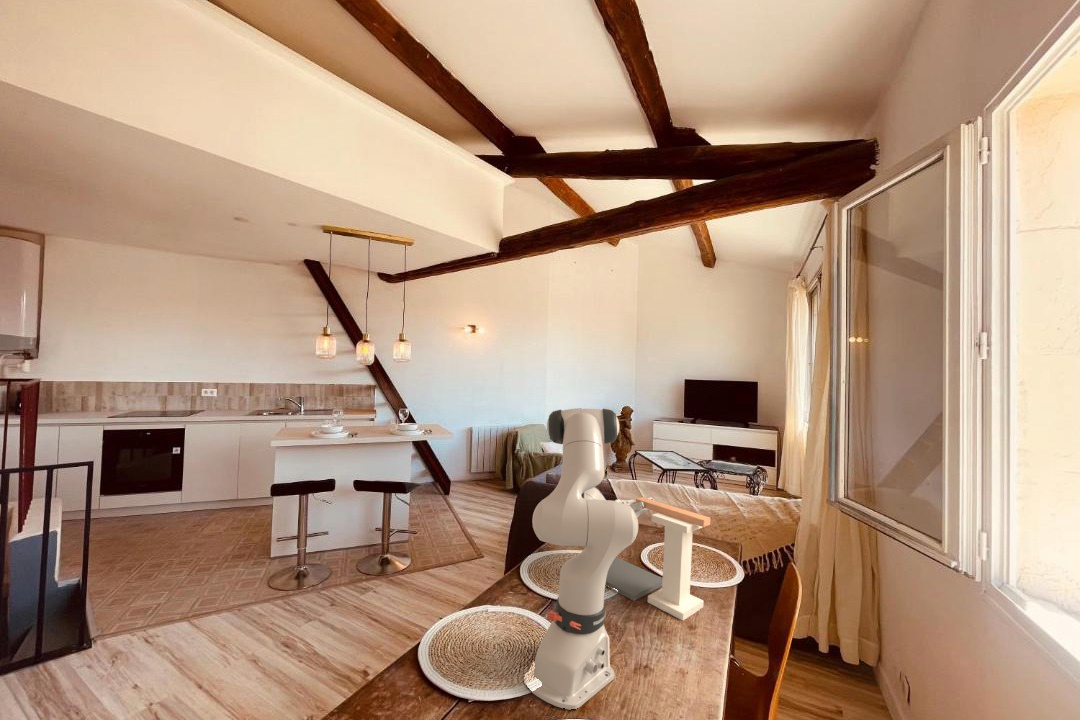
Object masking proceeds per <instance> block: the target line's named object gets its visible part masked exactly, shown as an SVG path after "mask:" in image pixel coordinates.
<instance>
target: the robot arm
mask: <svg viewBox="0 0 1080 720" xmlns="http://www.w3.org/2000/svg"><path fill="white" fill-rule="evenodd" d="M546 432H547V435H548V437H549V440H551V442H553V443H555V444H557V445H562V461H561V466H562V467H561V475H560V478H559V481H558V483H557V485H556V487H555V488H554V490H552V492H550V494H549V495H547V496H546V497H545V498H544V499H542V500H541V501H540V502H538V504H537V505H536V507H535V509H534V511H533V514H532V521H531V522H532V528H533V531H534V534H535V535H536V537H537V538H538V540H539V541H541V542H544V543H547V544H550V545H555V546H561V547H562V546H563V547H565V546H566V547H584V548H583V550H582V551H581V552H579V554H576V555H574V556H571V558H569V559H567V561H565V562H564V563H563V565H562V567H561V568H560V571H559V583H558V597H557V599H556V603H555V606H554V610H553V609H552V610H550V611H549V613H548V616H547V618H548V620H549V621H551V623H550V625H549V626H548V628H547V630H546V632H545V634H544V636H543V638H542V641H541V642H540V645H539V647H538V649H537V651H536V654H535V658H536V659H535V658H534V659H535V669H534V676H535V677H536V678H537V679H539V680H540V681H541V682H542V686H541V687H539V688H537V689H536V690H535V691H534V692H531V693H532V694H533V695H535V696H536V697H537V698H539V699H541V700H542V701H544V702H546V703H548V704H551V705H552V706H554V707H556V708H557V707H558V708H561V709H563V708H565V709H564V710H569V711H572V710H571V709H576V710H578V709H579V708H580V707H582V706H583V705H584V704H585V703H586V702H587V701H589V700H590V699H591V698H593V697H594V696H595V695H596V694H597V693H598V692H600V691H601V690H602V689H603V688H604V687H606V686H607V685H608V684H610V683H611V681H613V680H615V677H616V676H615V670H614V669H613V668H612V666H611V664H610V663H611V662H610V661H611V660H610V659H611V658H610V637H609V634H608V633H607V630H606V627H605V622H606V617H607V616H606V615H607V614H606V613H607V611H606V610H607V609H606V604H605V591H606V586H605V584H606V578H607V573H608V570H609V568H610V566H611V564H612V562H613V561H614V559H615V558H616V557H617V558H618V555H620V554H621V552H623V551H624V550H625V549H626V548H628V547H630V546H631V545H632V544H633V543H634V542H635V540H636V538H637V535H638V533H639V521H638V518H640V515H644V514H645V513H647V512H649V511H651V510H650V509H647V508H644V507H645V506H646V505H645V502H644V501H642V502H639V503H636V499H620V498H619V499H615V500H611V499H610V500H609V499H608V500H607V499H606V498H605V496H604V494H603V493H602V492H601V490H600V489H599V488H598V487H597V486H598V485H599V484H601V483H602V481H603V480H604V477H605V473H606V472H605V461H604V459H605V458H604V445H603V444H605V445H606V444H612V443H614V442H615V441H616V440H617V438H618V435H619V432H620V421H619V418H618V417H617V415H616V413H615V411H613V410H612V409H607V408H602V409H600V408H599V409H598V408H581V407H580V408H569V409H564V410H562V409H557V410H552V412H551V413H550V414H549V415H548V419H547V421H546ZM647 498H648V499H651V500H654V501H656V500H655V499H654V498H653V497H651V496H649V497H647ZM577 708H578V709H577Z"/></svg>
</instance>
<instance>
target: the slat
mask: <svg viewBox="0 0 1080 720" xmlns="http://www.w3.org/2000/svg"><path fill="white" fill-rule="evenodd" d="M635 500H636V503H639V502H642V501H644V502H645V505H646V506H645V507H644V508H647V509H650V510H649V511H653V512H656V513H662V514H665V515H668V516H671V517H674V518H677V519H680V520H683V521H686V522H689V523H692V524H695V525H698V526H701V527H702V528H705V527H708V526H710V525H711V519H712V518H711V517H709V516H706V515H702V514H700V513H696V512H693V511H690V510H687V509H683V508H680V507H677V506H674V505H670V504H667V503H664V502H660V501H657V500H655V499H654V500H655V501H654V500H651V499H648V497H644V496H641V497H637V498H635Z"/></svg>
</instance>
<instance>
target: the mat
mask: <svg viewBox="0 0 1080 720" xmlns="http://www.w3.org/2000/svg"><path fill="white" fill-rule="evenodd" d="M662 580H663V577H661V576H659V575H656V574H654V573H652V572H650V571H648V570H646V569H643V568H641V567H639V566H637V565H635V564H633V563H630V562H628V561H626V560H624V559H622V558H619V557H618V556H617V557H616V558H615V559H614V561H613V562H612V564H611V566H610V568H609V570H608V573H607V578H606V584H605V585H607V586H609V587H612V588H615V589H617V590H618V592H617V593H618V594H619V595H622V596H624V597H626V598H627V599H628V600H629V599H630V600H631V601H633V602H634V601H636V600H638V599H640V598H642V597H644V596H646V595H647V594H650V593H653V592H654V591H655V590H657V589H659V588H662ZM607 586H606V587H607ZM609 587H608V588H609Z"/></svg>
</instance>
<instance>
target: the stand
mask: <svg viewBox="0 0 1080 720" xmlns="http://www.w3.org/2000/svg"><path fill="white" fill-rule="evenodd" d="M650 520H651V522H653V523H655V524H659V525H661V526H664V539H663V542H664V543H663V562H662V565H663V566H662V570H663V571H662V578H663V580H662V586H661V588H660V589H658V590H656V591H655V592H654V591H653V592H651V594H650V593H649V595H647V603H648V604H650V605H652V606H654V607H656V608H658V609H660V610H661V611H664V612H665V613H668V614H669V615H670V616H673V617H675V618H677V619H679V620H681V621H685V620H686V619H688V618H689V617H690V616H692V615H694V614H695V613H697V612H698V611H700V610H702V609H703V608H704V600H703V599H701V598H700V597H697V596H696V595H693V594H691V578H692V577H691V574H692V554H693V551H692V550H693V549H692V548H693V534H694V533H693V532H695V531H697V530H699V529H702V528H703V527H701V526H698V525H695V524H692V523H689V522H686V521H683V520H680V519H677V518H674V517H671V516H668V515H665V514H662V513H659V512H656V513H653V514H651V519H650Z"/></svg>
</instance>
